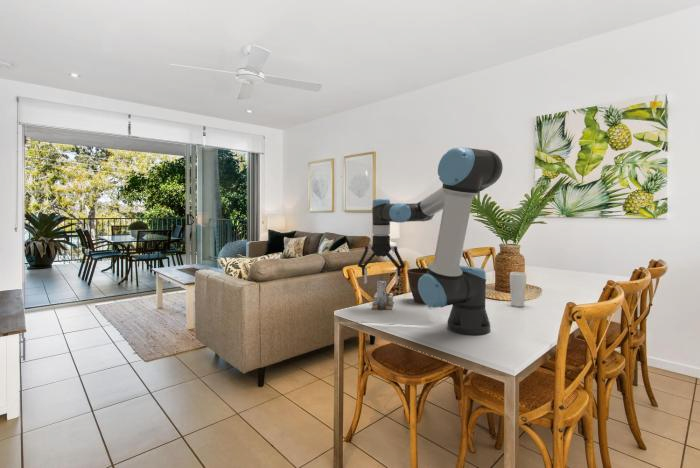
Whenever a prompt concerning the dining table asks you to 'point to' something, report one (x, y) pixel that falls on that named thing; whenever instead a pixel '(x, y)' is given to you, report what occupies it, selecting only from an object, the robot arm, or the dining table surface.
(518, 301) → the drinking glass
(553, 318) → the dining table surface
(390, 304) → the socket board
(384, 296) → the pin
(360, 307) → the dining table surface
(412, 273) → the plant pot
